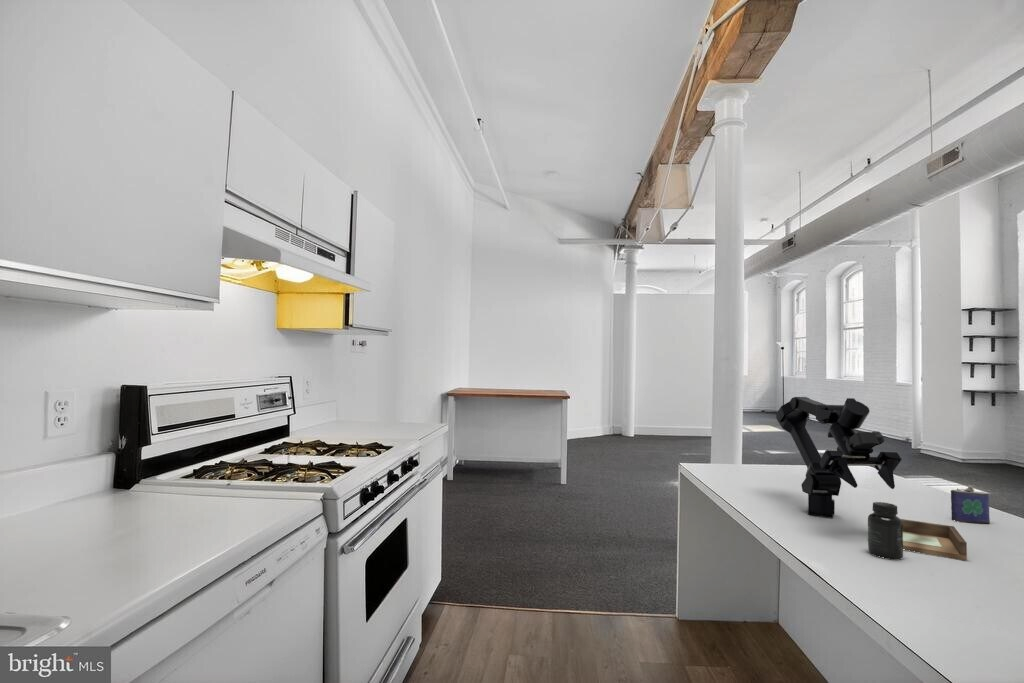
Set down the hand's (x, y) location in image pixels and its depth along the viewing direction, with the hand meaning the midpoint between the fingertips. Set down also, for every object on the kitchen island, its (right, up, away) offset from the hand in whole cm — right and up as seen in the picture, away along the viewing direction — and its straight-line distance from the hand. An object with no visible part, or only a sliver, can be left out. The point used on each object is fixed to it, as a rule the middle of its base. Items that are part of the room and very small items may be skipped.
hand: (874, 487), depth 132 cm
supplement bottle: (-3, -14, -8) cm, 17 cm away
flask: (+43, -16, +20) cm, 50 cm away
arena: (+11, -14, -1) cm, 18 cm away
